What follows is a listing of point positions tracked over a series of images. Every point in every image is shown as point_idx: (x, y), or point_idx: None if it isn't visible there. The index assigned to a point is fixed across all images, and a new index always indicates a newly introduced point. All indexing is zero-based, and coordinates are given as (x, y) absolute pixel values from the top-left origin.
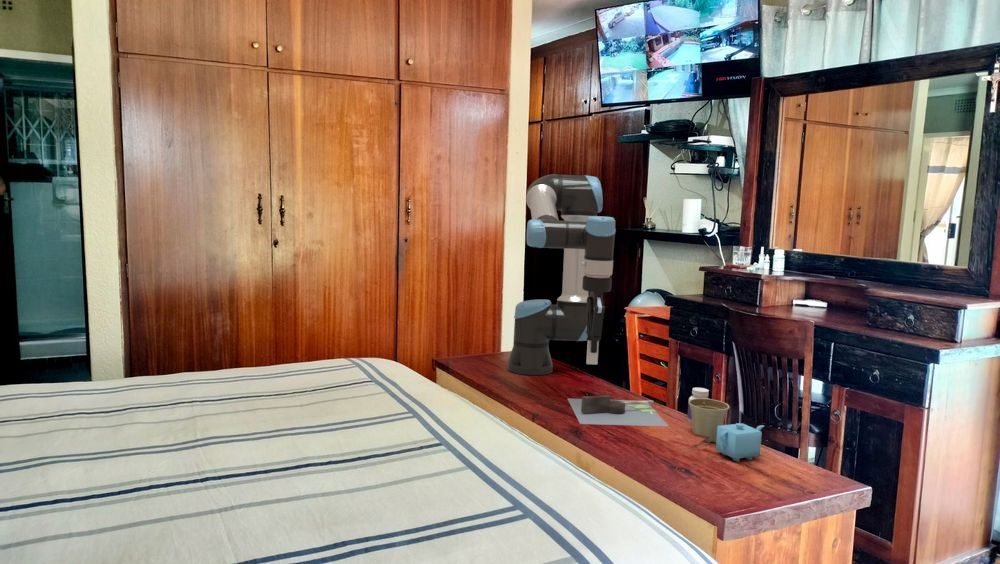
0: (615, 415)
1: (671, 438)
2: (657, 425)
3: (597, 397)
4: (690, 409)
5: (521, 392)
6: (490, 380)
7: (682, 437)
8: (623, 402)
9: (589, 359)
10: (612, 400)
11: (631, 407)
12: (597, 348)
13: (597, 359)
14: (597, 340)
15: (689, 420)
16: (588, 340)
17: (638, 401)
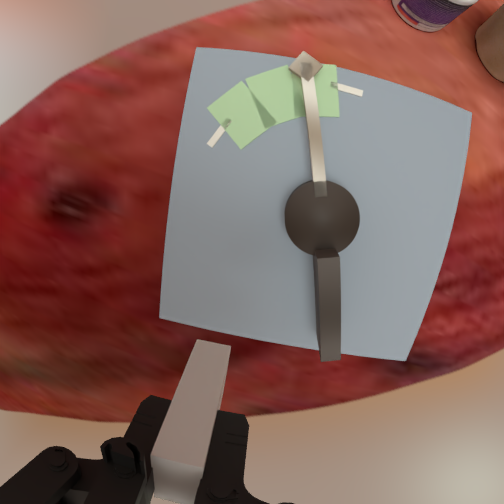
0: (361, 231)
1: (499, 138)
2: (464, 142)
3: (340, 312)
4: (451, 13)
5: (80, 376)
6: (20, 390)
7: (494, 104)
8: (318, 183)
9: (220, 402)
10: (287, 217)
11: (275, 129)
12: (213, 421)
13: (226, 365)
14: (254, 497)
15: (435, 25)
16: (189, 502)
17: (310, 114)
